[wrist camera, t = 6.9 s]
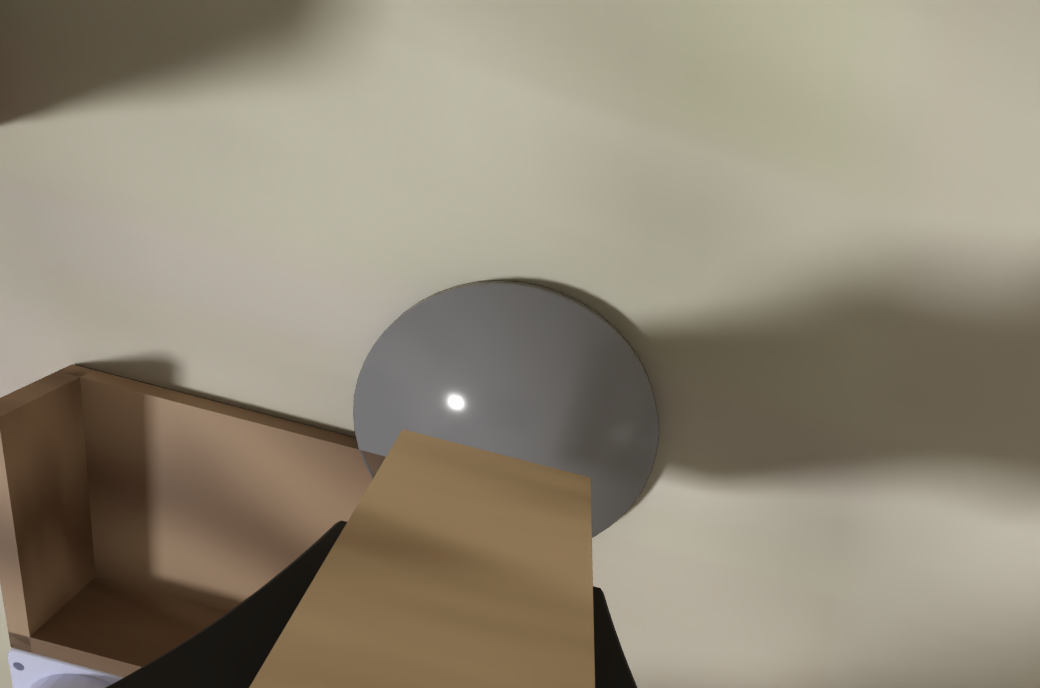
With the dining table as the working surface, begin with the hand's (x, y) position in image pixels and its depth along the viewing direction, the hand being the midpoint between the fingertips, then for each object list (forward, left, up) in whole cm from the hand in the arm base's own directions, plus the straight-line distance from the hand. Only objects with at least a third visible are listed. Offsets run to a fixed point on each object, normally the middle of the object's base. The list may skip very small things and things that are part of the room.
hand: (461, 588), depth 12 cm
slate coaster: (0, 0, -7) cm, 7 cm away
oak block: (0, 0, -2) cm, 2 cm away
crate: (-7, +9, -7) cm, 13 cm away
